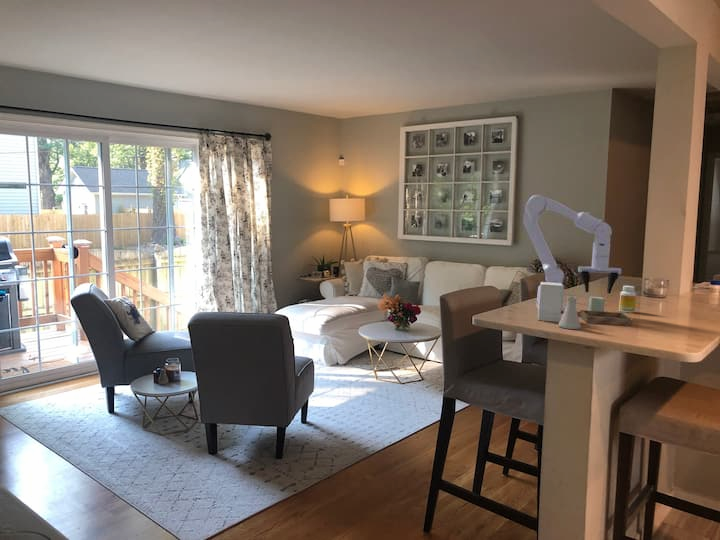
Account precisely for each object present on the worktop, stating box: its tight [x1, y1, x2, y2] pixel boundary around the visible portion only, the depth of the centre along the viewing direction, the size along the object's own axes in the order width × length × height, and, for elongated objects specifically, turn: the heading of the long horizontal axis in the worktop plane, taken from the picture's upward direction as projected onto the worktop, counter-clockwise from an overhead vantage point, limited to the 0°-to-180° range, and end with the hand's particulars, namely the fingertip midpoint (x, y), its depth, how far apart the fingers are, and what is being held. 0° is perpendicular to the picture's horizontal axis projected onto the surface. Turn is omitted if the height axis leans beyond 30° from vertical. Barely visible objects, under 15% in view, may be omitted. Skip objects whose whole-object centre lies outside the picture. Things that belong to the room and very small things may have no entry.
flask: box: [558, 295, 582, 330], centre depth 185 cm, size 7×7×10 cm
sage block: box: [587, 296, 606, 312], centre depth 210 cm, size 4×4×6 cm
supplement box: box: [537, 281, 564, 323], centre depth 196 cm, size 7×7×13 cm
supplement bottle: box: [618, 285, 637, 313], centre depth 216 cm, size 5×5×10 cm
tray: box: [579, 309, 632, 327], centre depth 197 cm, size 14×12×2 cm
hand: (597, 292), depth 209 cm, fingers open, 7 cm apart
